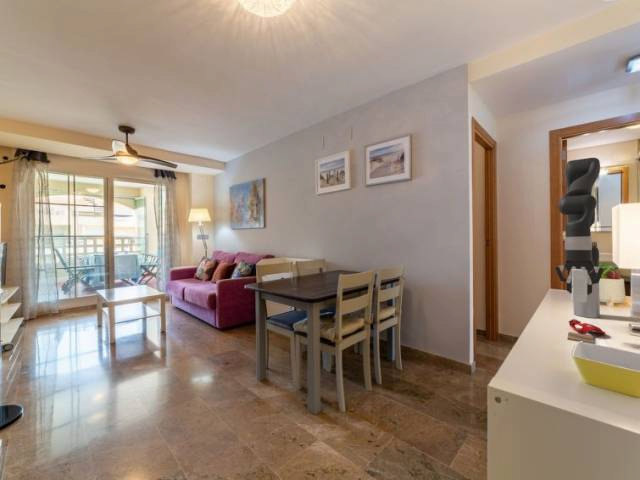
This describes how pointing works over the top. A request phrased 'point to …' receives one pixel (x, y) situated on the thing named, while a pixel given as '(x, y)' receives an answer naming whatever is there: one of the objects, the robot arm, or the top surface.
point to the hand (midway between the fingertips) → (579, 293)
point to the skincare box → (579, 285)
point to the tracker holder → (584, 327)
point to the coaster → (580, 337)
